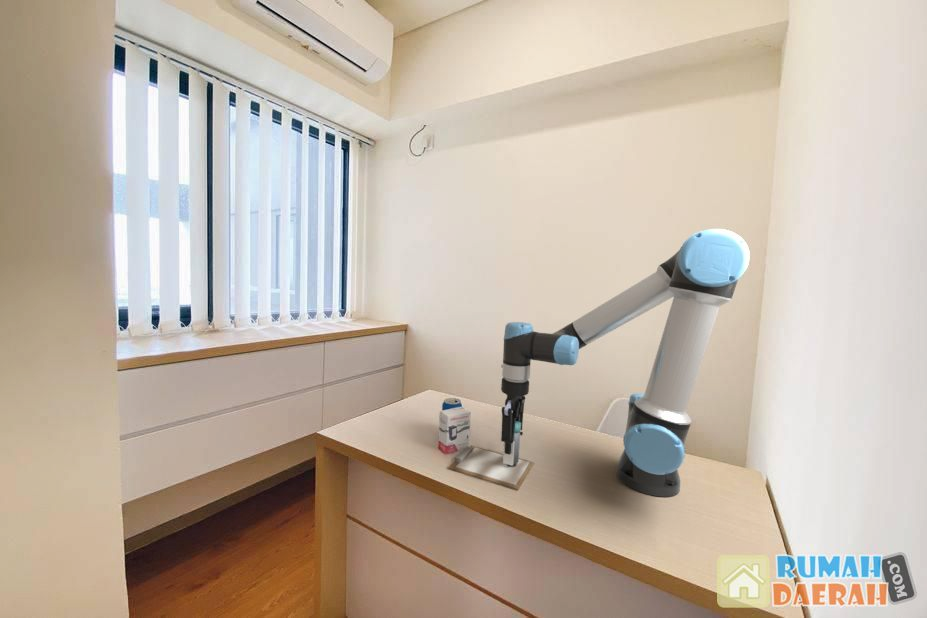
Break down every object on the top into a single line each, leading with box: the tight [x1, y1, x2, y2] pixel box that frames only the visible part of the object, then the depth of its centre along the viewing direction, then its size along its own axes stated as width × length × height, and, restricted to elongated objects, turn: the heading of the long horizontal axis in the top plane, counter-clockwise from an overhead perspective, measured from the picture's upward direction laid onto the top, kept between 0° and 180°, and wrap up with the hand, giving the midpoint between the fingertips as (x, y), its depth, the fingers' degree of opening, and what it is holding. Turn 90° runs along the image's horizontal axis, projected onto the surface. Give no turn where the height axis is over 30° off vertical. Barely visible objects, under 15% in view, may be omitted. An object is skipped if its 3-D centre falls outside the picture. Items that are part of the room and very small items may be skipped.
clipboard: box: [447, 444, 535, 492], centre depth 98 cm, size 20×15×2 cm
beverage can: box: [441, 397, 463, 411], centre depth 116 cm, size 6×6×12 cm
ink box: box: [438, 406, 471, 455], centre depth 108 cm, size 8×5×12 cm, turn 124°
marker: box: [507, 421, 522, 467], centre depth 98 cm, size 4×4×12 cm
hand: (510, 460), depth 98 cm, fingers closed on marker, 3 cm apart
